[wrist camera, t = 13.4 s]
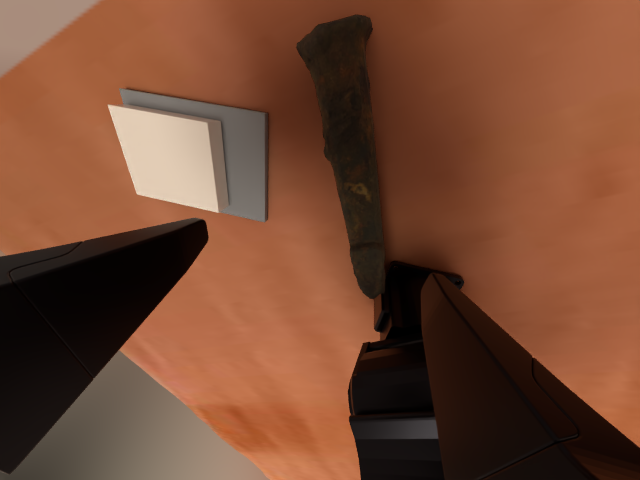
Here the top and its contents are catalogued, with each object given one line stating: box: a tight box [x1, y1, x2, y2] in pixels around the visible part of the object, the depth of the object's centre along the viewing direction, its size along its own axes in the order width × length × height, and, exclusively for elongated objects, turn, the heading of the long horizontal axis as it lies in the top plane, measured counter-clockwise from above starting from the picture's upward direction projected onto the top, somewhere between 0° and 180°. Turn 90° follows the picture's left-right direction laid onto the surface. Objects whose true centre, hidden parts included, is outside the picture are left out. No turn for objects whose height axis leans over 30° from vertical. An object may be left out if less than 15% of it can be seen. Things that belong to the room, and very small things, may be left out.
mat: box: [119, 89, 268, 222], centre depth 20 cm, size 12×9×1 cm
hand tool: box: [297, 15, 386, 299], centre depth 16 cm, size 19×4×5 cm, turn 11°
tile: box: [108, 104, 229, 213], centre depth 19 cm, size 2×7×8 cm
